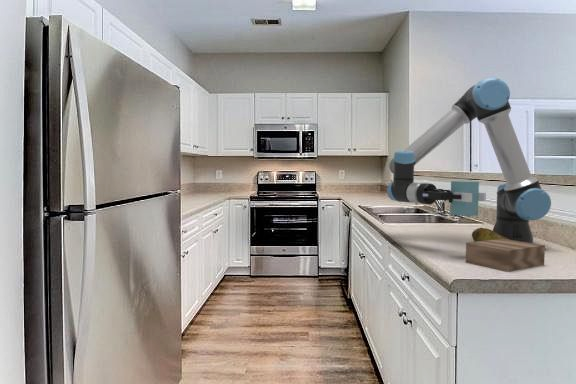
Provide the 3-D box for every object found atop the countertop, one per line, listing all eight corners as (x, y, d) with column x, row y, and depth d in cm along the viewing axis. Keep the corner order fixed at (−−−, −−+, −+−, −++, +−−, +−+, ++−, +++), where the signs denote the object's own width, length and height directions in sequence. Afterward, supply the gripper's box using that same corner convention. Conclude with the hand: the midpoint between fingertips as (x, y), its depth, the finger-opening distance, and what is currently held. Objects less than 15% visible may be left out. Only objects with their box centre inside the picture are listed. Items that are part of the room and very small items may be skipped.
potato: (508, 255, 146) (509, 231, 146) (469, 250, 154) (469, 228, 154) (514, 251, 153) (514, 229, 152) (475, 247, 161) (476, 225, 160)
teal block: (462, 213, 146) (463, 181, 145) (477, 215, 140) (478, 181, 140) (450, 214, 143) (451, 181, 142) (465, 216, 138) (466, 181, 137)
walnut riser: (501, 256, 144) (502, 238, 143) (544, 264, 131) (544, 245, 131) (465, 262, 135) (466, 242, 134) (507, 271, 122) (508, 250, 122)
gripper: (440, 202, 162) (496, 208, 142) (403, 204, 152) (457, 210, 132) (441, 182, 161) (497, 185, 141) (403, 183, 152) (458, 186, 132)
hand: (478, 197), depth 137 cm, fingers closed on teal block, 6 cm apart
